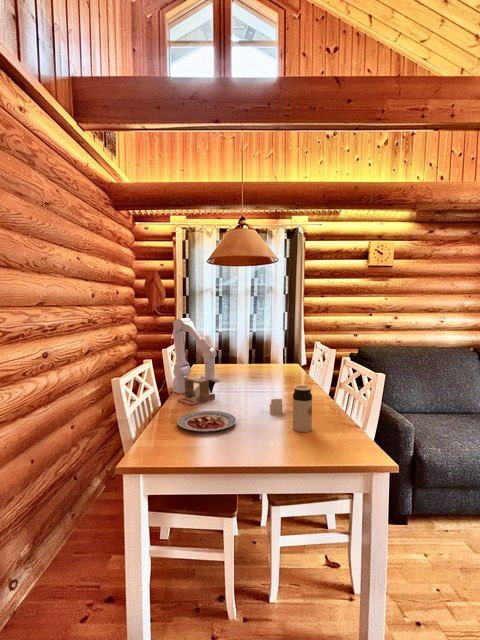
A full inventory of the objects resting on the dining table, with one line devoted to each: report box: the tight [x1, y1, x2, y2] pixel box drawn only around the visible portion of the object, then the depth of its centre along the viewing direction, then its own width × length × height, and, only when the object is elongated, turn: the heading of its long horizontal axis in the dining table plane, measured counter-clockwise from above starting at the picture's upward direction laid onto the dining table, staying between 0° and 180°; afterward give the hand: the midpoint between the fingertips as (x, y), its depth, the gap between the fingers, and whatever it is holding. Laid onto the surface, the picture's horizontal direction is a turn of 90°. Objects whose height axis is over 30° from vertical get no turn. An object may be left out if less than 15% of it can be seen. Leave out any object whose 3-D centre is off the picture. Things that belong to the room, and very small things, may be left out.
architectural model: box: [269, 397, 285, 415], centre depth 173 cm, size 3×7×8 cm, turn 101°
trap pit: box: [177, 396, 200, 407], centre depth 190 cm, size 12×5×1 cm, turn 44°
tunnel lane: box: [184, 376, 216, 404], centre depth 197 cm, size 15×10×11 cm, turn 44°
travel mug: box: [292, 384, 313, 433], centre depth 150 cm, size 8×8×18 cm
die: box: [194, 383, 212, 400], centre depth 198 cm, size 8×9×10 cm
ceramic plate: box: [177, 410, 237, 432], centre depth 156 cm, size 26×26×3 cm
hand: (209, 393), depth 203 cm, fingers closed
